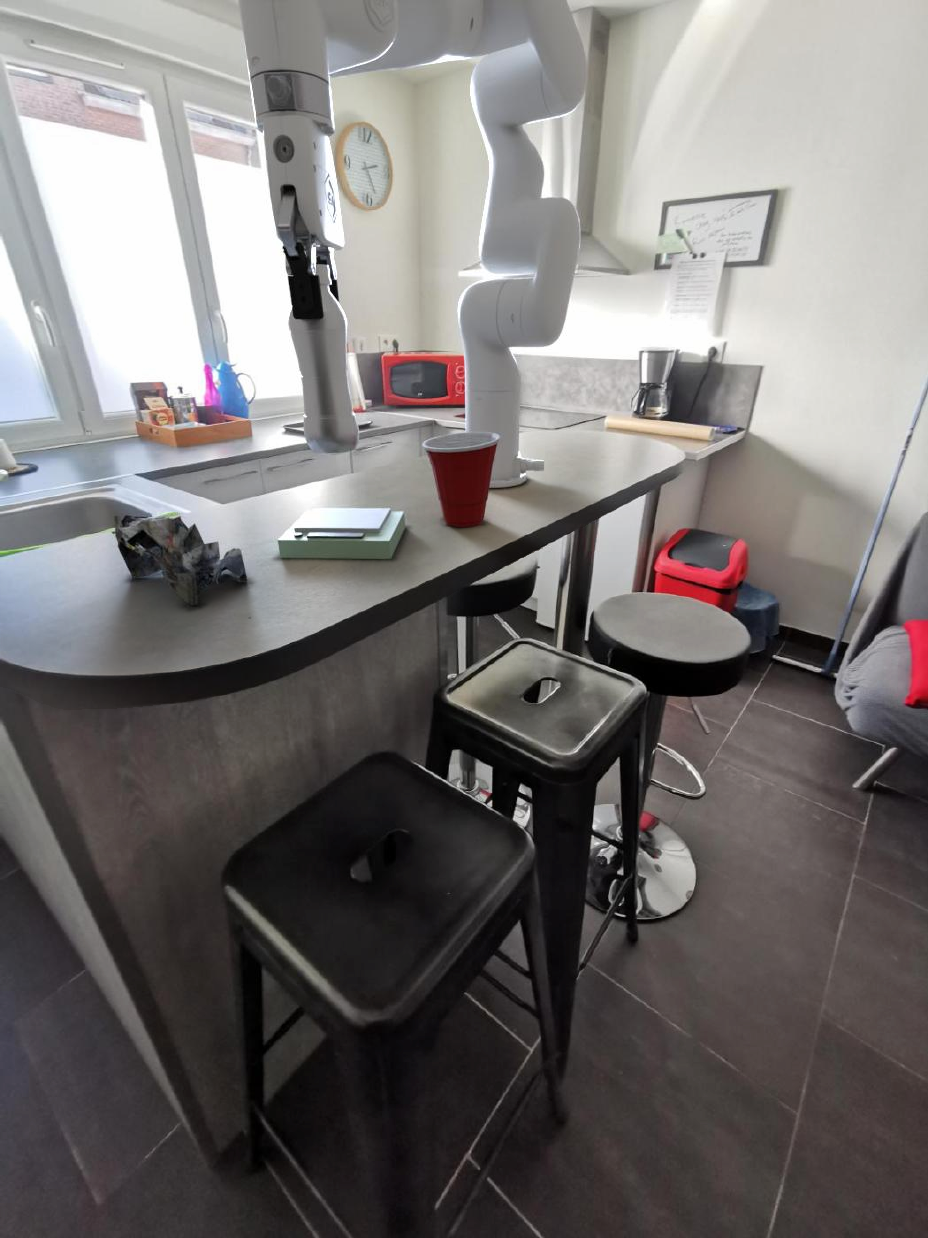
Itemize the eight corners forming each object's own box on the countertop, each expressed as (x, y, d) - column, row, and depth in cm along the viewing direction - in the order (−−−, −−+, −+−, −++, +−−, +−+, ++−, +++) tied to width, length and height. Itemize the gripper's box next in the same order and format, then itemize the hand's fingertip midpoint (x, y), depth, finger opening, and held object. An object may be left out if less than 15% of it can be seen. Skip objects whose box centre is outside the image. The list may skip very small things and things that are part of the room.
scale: (405, 527, 81) (403, 507, 79) (390, 559, 70) (389, 536, 69) (309, 526, 81) (306, 506, 80) (280, 558, 71) (276, 535, 69)
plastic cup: (424, 511, 87) (420, 431, 82) (493, 508, 88) (494, 428, 82) (426, 535, 78) (422, 445, 72) (504, 531, 79) (506, 443, 73)
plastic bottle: (349, 460, 67) (328, 261, 58) (297, 458, 68) (268, 264, 59) (368, 449, 73) (352, 266, 63) (320, 447, 74) (296, 268, 64)
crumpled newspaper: (121, 598, 53) (94, 483, 59) (150, 650, 62) (124, 546, 68) (248, 569, 58) (212, 464, 64) (258, 621, 67) (225, 526, 73)
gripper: (304, 75, 47) (330, 318, 56) (352, 134, 62) (367, 318, 71) (217, 79, 48) (256, 319, 56) (286, 137, 63) (309, 319, 71)
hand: (318, 317), depth 63 cm, fingers closed on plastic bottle, 6 cm apart
